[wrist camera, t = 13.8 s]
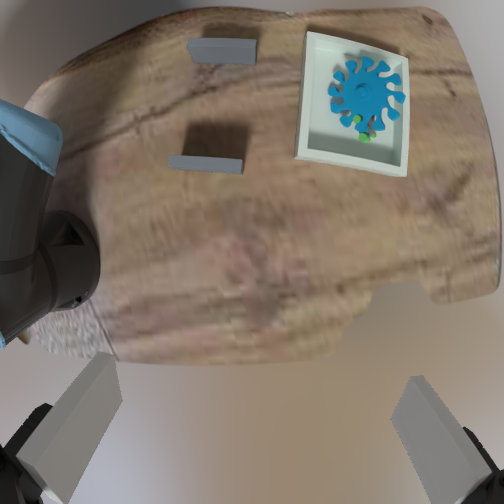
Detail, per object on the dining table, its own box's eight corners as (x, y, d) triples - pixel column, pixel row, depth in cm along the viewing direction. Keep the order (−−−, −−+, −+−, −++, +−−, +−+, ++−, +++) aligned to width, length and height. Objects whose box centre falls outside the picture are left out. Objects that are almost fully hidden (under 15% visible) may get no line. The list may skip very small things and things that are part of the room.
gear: (329, 54, 28) (404, 56, 22) (350, 70, 32) (417, 75, 26) (319, 134, 32) (395, 147, 26) (342, 141, 36) (409, 155, 30)
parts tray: (293, 158, 34) (297, 155, 31) (303, 42, 30) (307, 31, 27) (394, 176, 34) (406, 176, 31) (397, 66, 30) (407, 58, 27)
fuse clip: (179, 169, 35) (168, 167, 30) (196, 54, 31) (188, 38, 26) (242, 174, 35) (240, 172, 30) (256, 56, 31) (256, 39, 26)
